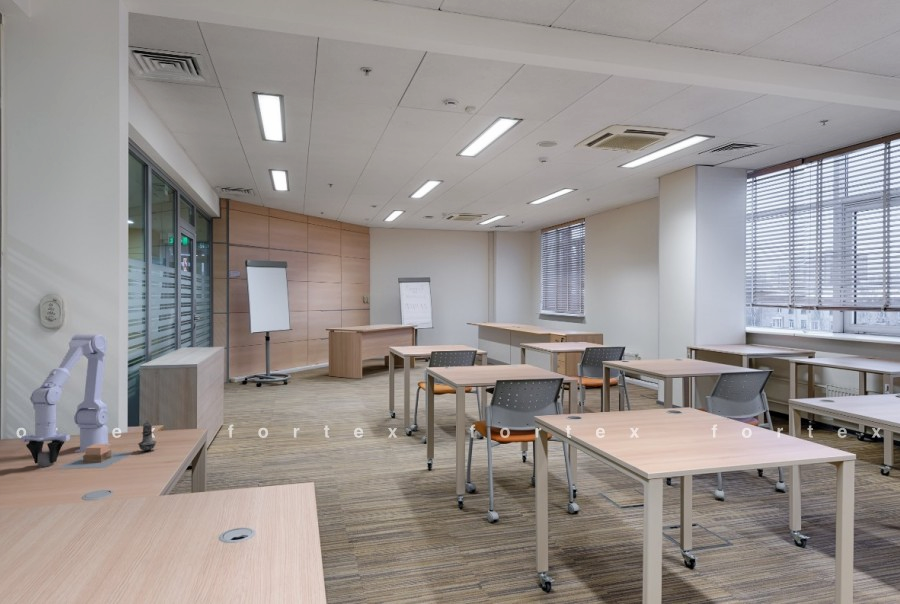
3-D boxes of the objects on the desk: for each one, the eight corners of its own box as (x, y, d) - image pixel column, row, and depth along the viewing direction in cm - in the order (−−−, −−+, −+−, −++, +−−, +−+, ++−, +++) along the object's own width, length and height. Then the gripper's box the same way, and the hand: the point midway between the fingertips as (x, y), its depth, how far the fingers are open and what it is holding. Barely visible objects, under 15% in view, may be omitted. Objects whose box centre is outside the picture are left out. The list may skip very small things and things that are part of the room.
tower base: (93, 457, 186) (93, 450, 186) (111, 457, 186) (111, 450, 186) (83, 462, 180) (83, 455, 180) (101, 462, 180) (101, 455, 180)
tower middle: (94, 451, 185) (94, 444, 185) (109, 450, 185) (109, 443, 185) (85, 455, 180) (85, 448, 180) (100, 454, 180) (100, 447, 180)
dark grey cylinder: (43, 464, 179) (43, 450, 179) (57, 464, 179) (56, 450, 179) (34, 468, 174) (34, 454, 175) (47, 468, 175) (47, 453, 175)
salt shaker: (142, 455, 189) (142, 422, 189) (135, 452, 193) (135, 420, 193) (159, 451, 194) (159, 419, 194) (152, 449, 198) (152, 417, 198)
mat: (89, 454, 191) (89, 453, 191) (134, 453, 192) (134, 452, 192) (56, 469, 173) (56, 468, 173) (105, 468, 174) (105, 467, 174)
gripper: (14, 425, 172) (14, 466, 172) (59, 424, 173) (59, 465, 173) (30, 420, 179) (30, 460, 179) (73, 420, 180) (73, 459, 180)
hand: (45, 462), depth 177 cm, fingers closed on dark grey cylinder, 4 cm apart
